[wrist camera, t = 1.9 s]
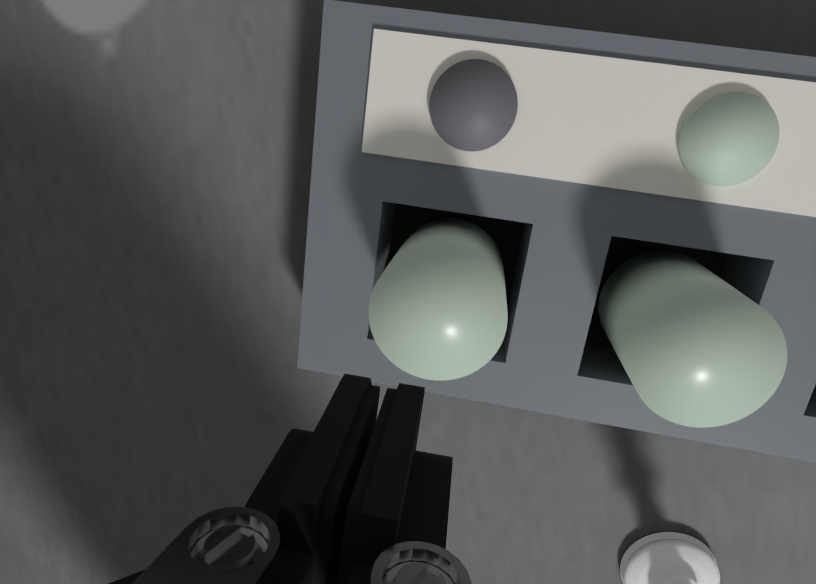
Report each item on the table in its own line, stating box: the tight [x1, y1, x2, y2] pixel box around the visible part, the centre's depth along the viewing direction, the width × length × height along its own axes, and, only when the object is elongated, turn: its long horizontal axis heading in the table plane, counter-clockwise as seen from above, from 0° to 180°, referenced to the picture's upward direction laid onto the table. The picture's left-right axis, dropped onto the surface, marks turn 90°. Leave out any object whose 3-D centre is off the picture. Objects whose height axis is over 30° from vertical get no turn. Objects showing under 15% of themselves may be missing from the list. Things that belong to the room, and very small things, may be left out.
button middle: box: [598, 251, 787, 428], centre depth 21 cm, size 5×5×6 cm
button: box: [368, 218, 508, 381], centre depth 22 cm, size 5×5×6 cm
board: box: [297, 0, 816, 463], centre depth 23 cm, size 30×15×4 cm, turn 83°
